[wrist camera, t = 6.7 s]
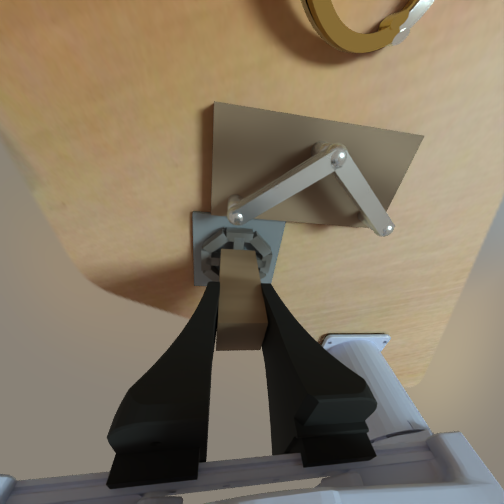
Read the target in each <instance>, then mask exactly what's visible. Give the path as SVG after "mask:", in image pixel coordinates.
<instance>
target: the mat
mask: <svg viewBox="0 0 504 504" xmlns="http://www.w3.org/2000/svg"><path fill="white" fill-rule="evenodd" d="M285 223H286V221H277V220H265V219H252V220H250V221H248V222H246V223H245V224H243V225H233V224H231V223H230V222H229V221H228V219H227V216H216V215H211V213H210V212H198V211H193V255H194V286H207V283H208V282H209V281H212V280H211V279H209V278H208V277H207V276H205V275H204V274H203V271H201V249H202V246H203V244H204V242H205V241H206V240H208V239H209V238H210V237H212V236H213V235H214V234H216V233H217V232H218V231H220V230H221V229H222V228H223V229H224V230H225V231H226V230H227V227H232V228H246V229H253V232H255V231H257V232H258V233H259V234H260V236H261V237H262V238H263V239H264V240H265V241H266V242H267V243H268V245H269V246H270V247H271V251H272V255H273V256H272V260H271V264H270V268H269V272H268V273H266V276H265V277H264V278H262V279H260V281H261V283H270V284H271V282H272V278H273V273H274V269H275V265H276V261H277V256H278V252H279V248H280V244H281V240H282V235H283V231H284V227H285ZM221 249H233V242H231V241H228V242H226V243H225V244H224V245H222V246H221V247H219V248H218V249H217V250H215V251H214V252H218V253H221ZM243 250H252V251H255V253H256V255H261V253H260V252H259V251H258V250H257V249H256V248H255V247H254V246H253V245H252V244H251V243H247V242H244V248H243ZM215 267H216V268H217V269H218V270H219V271H220V266H215Z"/></svg>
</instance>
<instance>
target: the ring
mask: <svg viewBox="0 0 504 504" xmlns="http://www.w3.org/2000/svg"><path fill="white" fill-rule="evenodd" d="M433 2H434V0H410V1H409V2H408V3H407V5H406V6H405V7H404V8H403V9H402V10H401V11H400V12H396V13H393V14H390V15H389V16H387V17H386V18H385V19H384V20H383V21H382V22H381V24H380V26H379V30H378V31H376V32H374V33H371V34H361V33H357V32H354V31H352V30H350V29H349V28H348V27H346V26H345V25H344V24H343V22H342V21H341V20H340V18H339V17H338V15H337V14H336V12H335V10H334V7H333V5H332V2H331V0H301V3H302V6H303V9H304V11H305V14H306V16H307V18H308V20H309V22H310V23H311V25H312V27H313V28H314V30H315V31H316V32H317V34H318V35H319V36H320V37H321V38H322V39H323V40H324V41H325V42H326V43H327V44H329V45H330V46H332V47H333V48H335V49H337V50H339V51H342V52H347V53H366V52H371V51H375V50H378V49H380V48H383V47H386V46H394V45H398V44H399V43H401V42H402V41H403V40H405V38H406V37H407V36H408V34H409V32H410V28H411V27H412V26H413V25H414V24H415V23H416V22H417V21H418V20H419V19H420V18H421V17H422V16H423V14H424V13H425V12H426V11H427V10H428V8H429V7H430V6H431V4H432V3H433Z"/></svg>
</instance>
